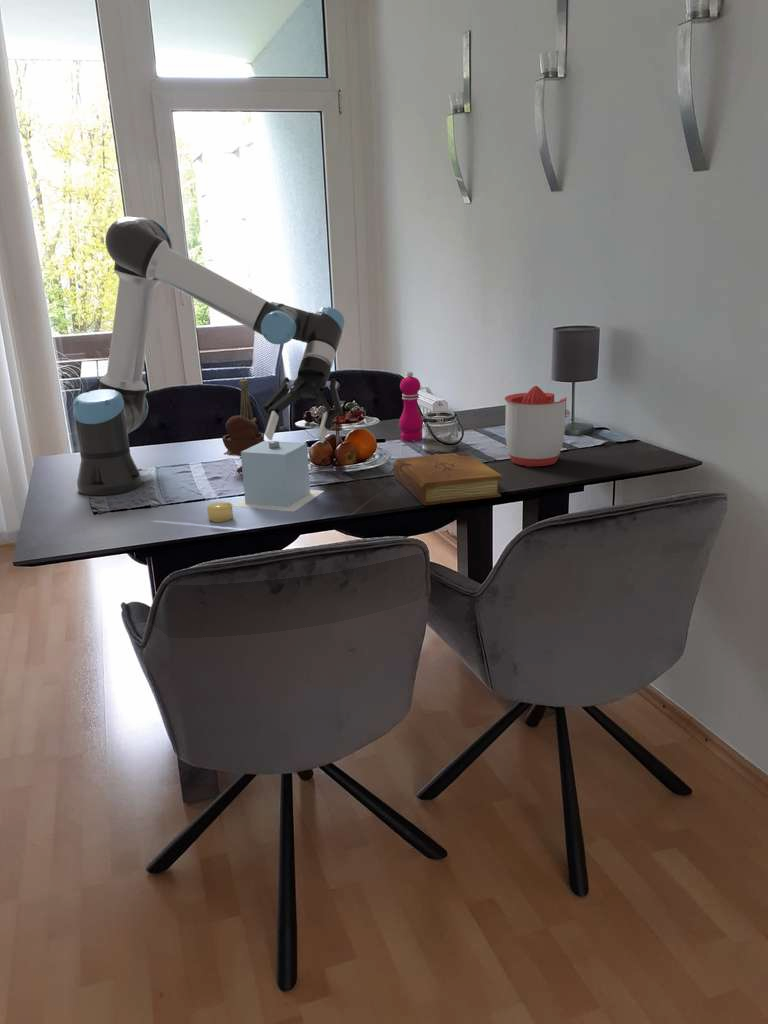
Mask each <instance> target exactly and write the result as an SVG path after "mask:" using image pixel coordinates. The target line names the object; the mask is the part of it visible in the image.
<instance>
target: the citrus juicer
mask: <svg viewBox="0 0 768 1024" xmlns="http://www.w3.org/2000/svg"><path fill="white" fill-rule="evenodd" d="M567 400H568V398H567V396H565V397H563V398H561V399H560V400H559V401H555V393H553V392H551V393H550V392H544V391H543V390H542V389H541V388H540V387H539V386H538V385H534V386H533V387H532V388H530V389H529V390H528V391H527V392H519V393H513V394H509V395H506V396H505V397H504V401H505V425H504V426H505V430H504V431H505V442H506V447H507V451H508V455H509V458H510V460H511V463H512V464H513V463H514V464H516V465H520V466H525V467H526V468H533V467H542V466H544V467H545V466H550V465H554V464H555V463H557V461H558V459H559V458H560V457H559V456H560V455H561V451H562V447H563V444H564V440H565V430H566V429H565V427H566V418H567V416H570V415H571V411H570V410H569V409H567Z"/></svg>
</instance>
